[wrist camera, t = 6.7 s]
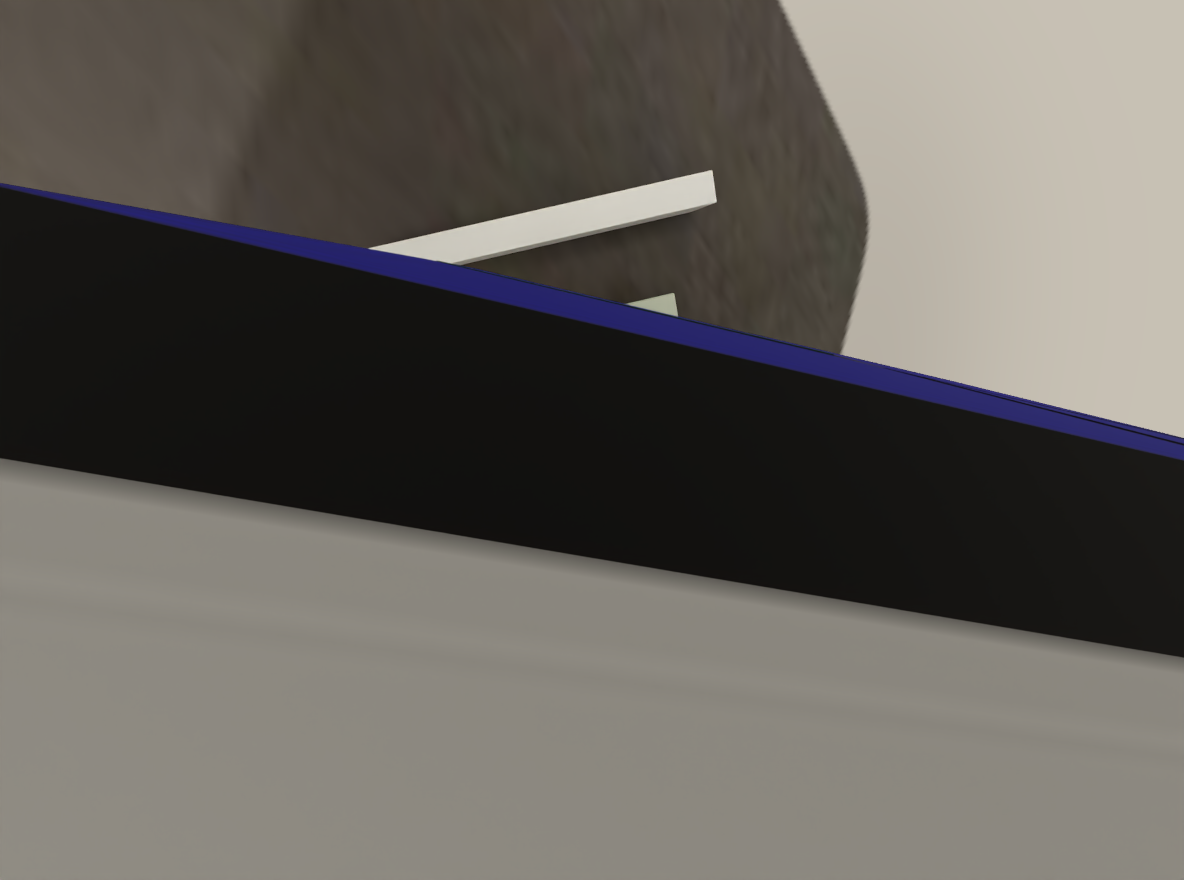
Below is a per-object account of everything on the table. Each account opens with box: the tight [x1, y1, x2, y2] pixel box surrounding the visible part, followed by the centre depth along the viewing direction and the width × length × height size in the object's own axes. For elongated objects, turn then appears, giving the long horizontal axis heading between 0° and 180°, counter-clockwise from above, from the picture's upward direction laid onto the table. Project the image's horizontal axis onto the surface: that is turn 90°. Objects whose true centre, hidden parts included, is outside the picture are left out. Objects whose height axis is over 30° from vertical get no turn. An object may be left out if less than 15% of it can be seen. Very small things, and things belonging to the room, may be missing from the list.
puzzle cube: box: [0, 183, 1184, 880], centre depth 7 cm, size 10×10×10 cm
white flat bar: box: [368, 170, 717, 265], centre depth 24 cm, size 14×1×4 cm, turn 103°
